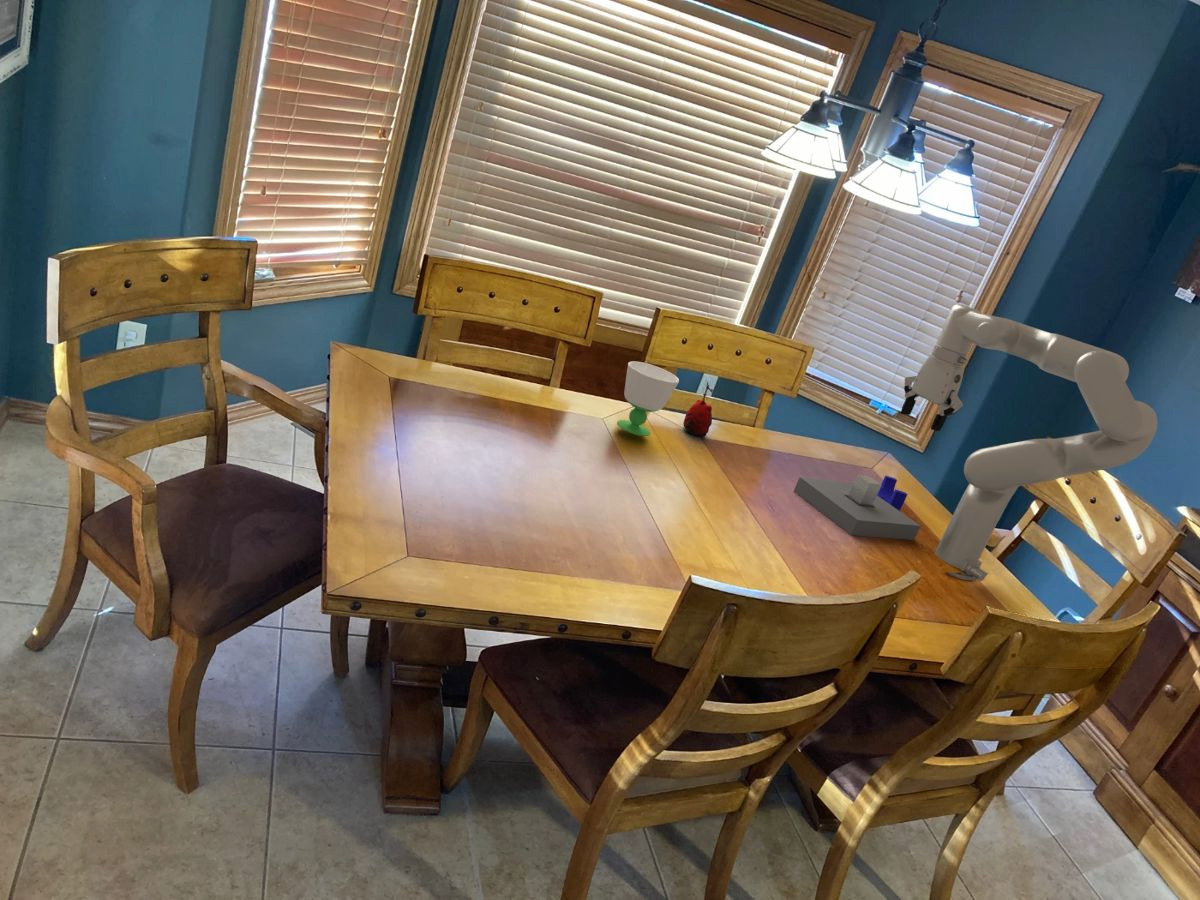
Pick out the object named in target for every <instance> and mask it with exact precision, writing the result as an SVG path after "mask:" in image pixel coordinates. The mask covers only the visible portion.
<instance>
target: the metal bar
mask: <svg viewBox="0 0 1200 900" xmlns="http://www.w3.org/2000/svg"><path fill="white" fill-rule="evenodd" d="M853 483H854V484H853V486H852V488H851V491H850V493H849V495H848V497H847V498H849V499H850V500H851V501H853V502H854V503H856V504H857V505H858V506H864V507H872V505H873V503H874V501H875V499H876V497H877V494H878V492H879V490H880V488H881V486H882V483H880V482H879V481H877V480H875V478H873V477H871V476H870V475H869V476H868V475H861V474H857V475H856V477H855V480H854V481H853Z"/></svg>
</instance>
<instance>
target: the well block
mask: <svg viewBox="0 0 1200 900" xmlns="http://www.w3.org/2000/svg"><path fill="white" fill-rule="evenodd" d="M853 484H854V482H853V483H851V482H846V481H845V482H843V481H837V480H836V481H835V480H829V479H828V480H827V479H820V478H819V479H818V478H811V477H802V476H799V478H798V479H797V482H796V485H795V487H794V489H793V492H794V493H795V494H797V495H798V496H800V498H802V499H803V500H804V501H806V502H807V503H808V504H810V505H811V506H813V507H814V508H815V509H816V510H817V511H819V512H820V513H822V514H823V516H825V517H827V518H828V519H829V520H831V521H832V522H833V523H834V524H835V525H837V526H838V527H840V528H841V529H842V530H844V532H846V533H847V534H849V535H851V536H857V537H869V538H871V537H872V538H883V539H895V540H905V541H907V540H908V541H915V539H916V537H917V535H918V532H919V531H920V529H921V527H922V525H920V523H918V522H916V521H915V520H913V519H912V518H910V517H909V516H907V515H906V514H904V513H903V512H902V511H901V510H900V511H899V510H897V509H896V508H894V507H893V506H892V505H890V504H889V503H887V502H886V501H884V500H883V499H881V498H880V497H879V496H877V497H876V499H875V501H874V503H873V505H872V507H864V506H858V505H857V504H856V503H854V502H853V501H851V500H850V499H849V498H847V497H848V495H849V493H850V491H851V488H852V486H853Z"/></svg>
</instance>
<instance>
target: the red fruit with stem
mask: <svg viewBox="0 0 1200 900" xmlns="http://www.w3.org/2000/svg"><path fill="white" fill-rule="evenodd" d="M708 390H709V391H710V393H712V394H713V392H714V389H712V388H710V385H709V381H707V383H706V386H705V392H704V393H703V398H702V399H697V400H696V402H695V403H694V404H692V405H691V406H690V408H689V409H688V410H687V412H686V414H685V415H684V419H683V422H682V423H683V428H684V430H685V429H686V430H685V431H686V432H688V433H689V434H692V433H693V434H692V435H694V434H696V436H698V435H699V436H698V437H706V436H707V434H708V433H709V430H710V427H711V426H712V424H713V417H712V416H713V415H712V410H713V408H712V405H710V404H708V403H706V396H707V392H708Z"/></svg>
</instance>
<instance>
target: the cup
mask: <svg viewBox="0 0 1200 900" xmlns="http://www.w3.org/2000/svg"><path fill="white" fill-rule="evenodd" d="M625 376H626V377H625V385H624V393H623V394H624V398H625V400H626V401H627V403H629V405H631V406H632V407H633V408H632V409H631V410H630V412H629V415H628V418H629V420H617V423H616V424H617V425H618V427H619V428H620V429H622V430H624V431H626V432H627V433H629V434H633V435H636V436H641V437H648V436H650V435H651V431H650V430H649V429H648V428H646V427H645V426H644V425H643V424H645V422H646V421H647V419H648V418H647V417H648V415H647V413H648V412H649V413H651V412H655V413H656V412H658V411H660V410H662V409H663V408H665V406H666V404H667V403H668V401H669V399H670V398H671V396H672V395H673V393H674V391H675V390H676V387H677V386H678V384H679V383H680V379H679V377H677V376H676V375H675V374H674V373H671V372H670V371H669V370H666V369H663V368H661V367H659V366H656V365H653V364H650V363H647V362H642V361H633V360H632V361H629V362H627V370H626V375H625Z"/></svg>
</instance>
